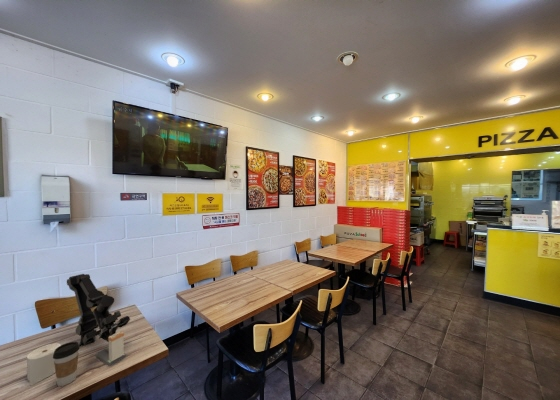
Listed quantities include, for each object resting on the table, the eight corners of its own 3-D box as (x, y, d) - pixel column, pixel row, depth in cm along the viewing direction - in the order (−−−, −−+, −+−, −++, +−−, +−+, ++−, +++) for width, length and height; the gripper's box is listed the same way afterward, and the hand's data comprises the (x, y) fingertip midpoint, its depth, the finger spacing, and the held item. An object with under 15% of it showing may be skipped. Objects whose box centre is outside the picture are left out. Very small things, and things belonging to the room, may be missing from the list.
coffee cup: (63, 390, 90) (62, 354, 90) (47, 386, 92) (47, 351, 92) (84, 374, 99) (84, 341, 99) (70, 371, 100) (70, 339, 100)
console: (95, 356, 110) (95, 353, 110) (111, 348, 116) (111, 345, 116) (109, 366, 103) (109, 363, 103) (125, 357, 109) (125, 354, 109)
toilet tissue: (59, 360, 108) (59, 340, 108) (63, 372, 100) (62, 350, 100) (26, 373, 99) (26, 352, 99) (27, 388, 92) (27, 364, 92)
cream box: (108, 359, 105) (108, 336, 105) (120, 352, 110) (120, 331, 110) (111, 361, 104) (111, 338, 104) (124, 354, 108) (123, 332, 108)
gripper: (85, 316, 102) (96, 347, 97) (128, 300, 119) (139, 326, 113) (78, 329, 106) (88, 359, 101) (120, 311, 122) (131, 336, 117)
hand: (113, 344), depth 108 cm, fingers closed
